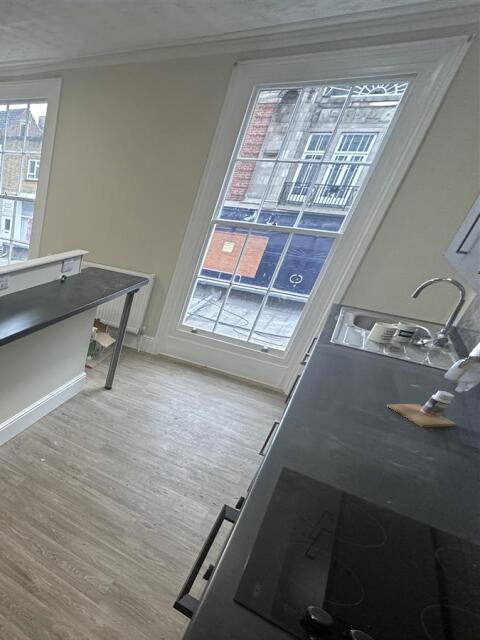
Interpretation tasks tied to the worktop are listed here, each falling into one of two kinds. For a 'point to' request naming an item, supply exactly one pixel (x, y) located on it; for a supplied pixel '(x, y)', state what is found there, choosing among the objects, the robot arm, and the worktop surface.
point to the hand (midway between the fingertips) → (460, 391)
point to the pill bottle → (437, 403)
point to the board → (420, 415)
